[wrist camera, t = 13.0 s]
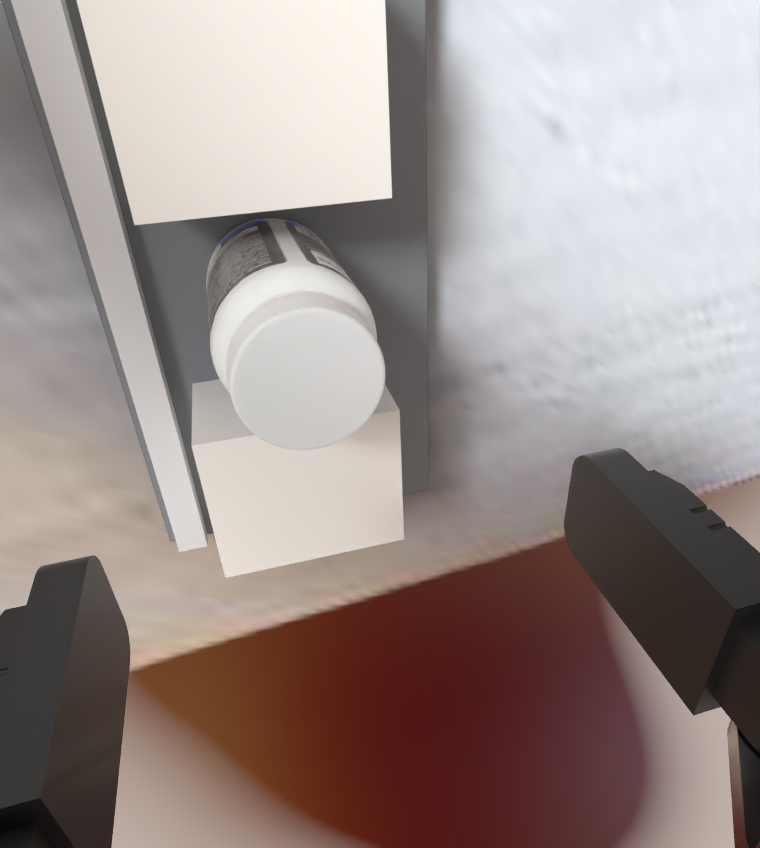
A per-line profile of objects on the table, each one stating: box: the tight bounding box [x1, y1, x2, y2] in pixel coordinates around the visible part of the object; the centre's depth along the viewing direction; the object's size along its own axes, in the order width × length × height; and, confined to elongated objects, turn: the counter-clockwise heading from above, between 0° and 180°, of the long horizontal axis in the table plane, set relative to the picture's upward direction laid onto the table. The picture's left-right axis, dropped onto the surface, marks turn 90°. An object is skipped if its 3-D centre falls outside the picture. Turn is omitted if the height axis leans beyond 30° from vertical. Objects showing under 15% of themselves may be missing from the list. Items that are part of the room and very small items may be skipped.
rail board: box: [2, 0, 428, 578], centre depth 21 cm, size 22×12×6 cm, turn 3°
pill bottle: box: [206, 218, 385, 450], centre depth 19 cm, size 5×5×8 cm
